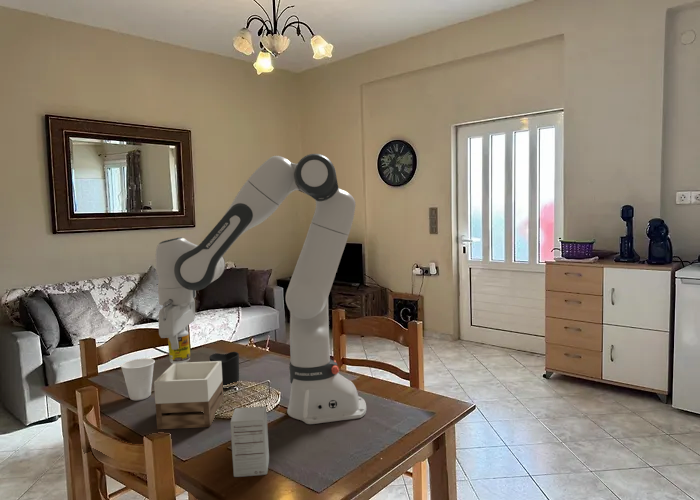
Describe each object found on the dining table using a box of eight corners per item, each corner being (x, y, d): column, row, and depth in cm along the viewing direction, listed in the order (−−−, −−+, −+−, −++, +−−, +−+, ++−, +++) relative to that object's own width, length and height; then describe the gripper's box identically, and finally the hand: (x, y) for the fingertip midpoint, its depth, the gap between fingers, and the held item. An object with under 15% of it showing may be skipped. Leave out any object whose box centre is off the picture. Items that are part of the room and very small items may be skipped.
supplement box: (237, 460, 113) (234, 407, 112) (269, 458, 113) (267, 405, 112) (232, 478, 105) (229, 421, 104) (267, 475, 106) (264, 419, 105)
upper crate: (222, 380, 146) (221, 361, 146) (208, 401, 130) (207, 379, 130) (175, 382, 146) (174, 362, 145) (155, 403, 130) (153, 381, 129)
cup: (119, 405, 148) (117, 369, 147) (126, 393, 158) (124, 360, 157) (154, 401, 150) (152, 366, 149) (159, 389, 160) (157, 356, 159)
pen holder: (226, 391, 156) (225, 361, 155) (205, 387, 161) (203, 357, 160) (246, 382, 165) (244, 353, 164) (224, 378, 169) (223, 350, 168)
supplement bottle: (172, 365, 133) (169, 328, 133) (167, 361, 138) (164, 325, 137) (193, 361, 136) (190, 325, 136) (187, 356, 141) (184, 322, 140)
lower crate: (223, 403, 147) (222, 380, 146) (209, 426, 131) (208, 401, 130) (176, 405, 146) (175, 382, 146) (157, 429, 130) (155, 403, 130)
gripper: (174, 303, 125) (179, 355, 127) (197, 289, 146) (201, 335, 147) (149, 304, 125) (154, 357, 126) (176, 291, 146) (180, 336, 147)
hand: (179, 345), depth 137 cm, fingers closed on supplement bottle, 6 cm apart
